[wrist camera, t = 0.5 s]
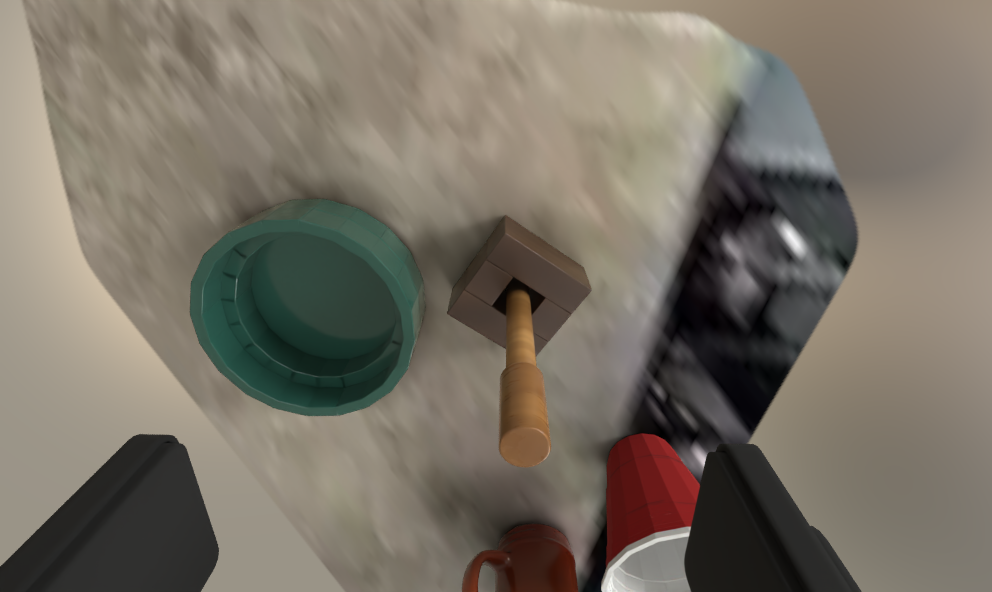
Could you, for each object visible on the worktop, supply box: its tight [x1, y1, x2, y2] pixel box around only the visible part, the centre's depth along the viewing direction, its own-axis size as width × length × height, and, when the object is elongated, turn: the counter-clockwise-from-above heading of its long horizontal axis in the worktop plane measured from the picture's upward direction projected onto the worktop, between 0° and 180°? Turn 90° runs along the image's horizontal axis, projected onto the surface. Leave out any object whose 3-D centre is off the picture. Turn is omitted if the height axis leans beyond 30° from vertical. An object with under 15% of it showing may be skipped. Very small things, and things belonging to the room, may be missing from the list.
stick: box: [499, 277, 551, 467], centre depth 29 cm, size 2×2×18 cm
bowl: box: [190, 199, 426, 416], centre depth 36 cm, size 15×15×6 cm
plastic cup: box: [601, 433, 700, 592], centre depth 39 cm, size 11×11×12 cm
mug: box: [462, 523, 578, 592], centre depth 44 cm, size 12×9×10 cm
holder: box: [447, 215, 592, 357], centre depth 36 cm, size 7×7×4 cm
